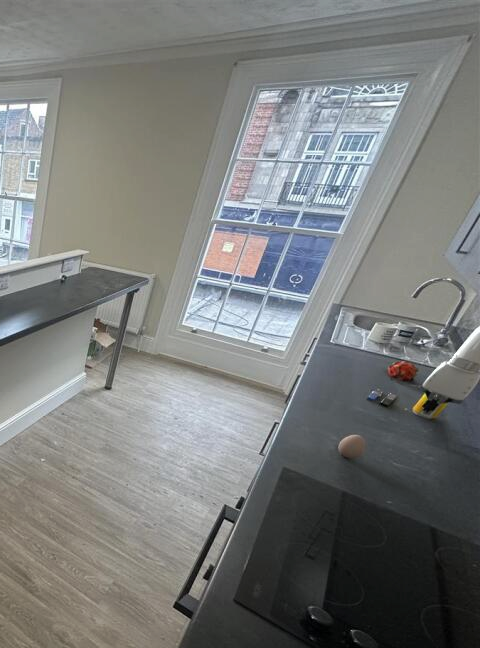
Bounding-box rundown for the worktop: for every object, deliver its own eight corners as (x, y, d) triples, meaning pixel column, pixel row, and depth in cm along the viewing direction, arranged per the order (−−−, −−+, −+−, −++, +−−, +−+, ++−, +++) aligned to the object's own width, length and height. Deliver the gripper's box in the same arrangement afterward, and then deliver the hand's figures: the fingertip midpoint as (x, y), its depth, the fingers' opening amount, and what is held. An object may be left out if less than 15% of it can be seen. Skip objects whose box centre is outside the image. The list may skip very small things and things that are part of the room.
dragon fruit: (399, 379, 170) (391, 390, 164) (385, 363, 172) (376, 372, 166) (425, 371, 163) (418, 382, 157) (410, 354, 164) (402, 364, 159)
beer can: (431, 414, 142) (462, 378, 135) (436, 421, 138) (468, 384, 130) (409, 407, 145) (437, 371, 138) (413, 414, 141) (443, 378, 133)
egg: (357, 457, 115) (373, 437, 111) (355, 465, 112) (371, 444, 108) (335, 447, 118) (349, 428, 115) (332, 455, 115) (346, 434, 111)
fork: (374, 402, 147) (375, 399, 146) (365, 398, 148) (366, 396, 148) (384, 392, 154) (385, 390, 154) (375, 389, 156) (376, 387, 156)
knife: (386, 407, 144) (388, 405, 143) (379, 404, 145) (380, 402, 145) (397, 396, 152) (398, 394, 152) (389, 393, 154) (391, 391, 153)
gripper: (501, 372, 125) (457, 419, 135) (436, 352, 135) (400, 397, 144) (499, 377, 121) (454, 425, 130) (433, 356, 131) (395, 402, 140)
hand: (425, 410), depth 137 cm, fingers closed
